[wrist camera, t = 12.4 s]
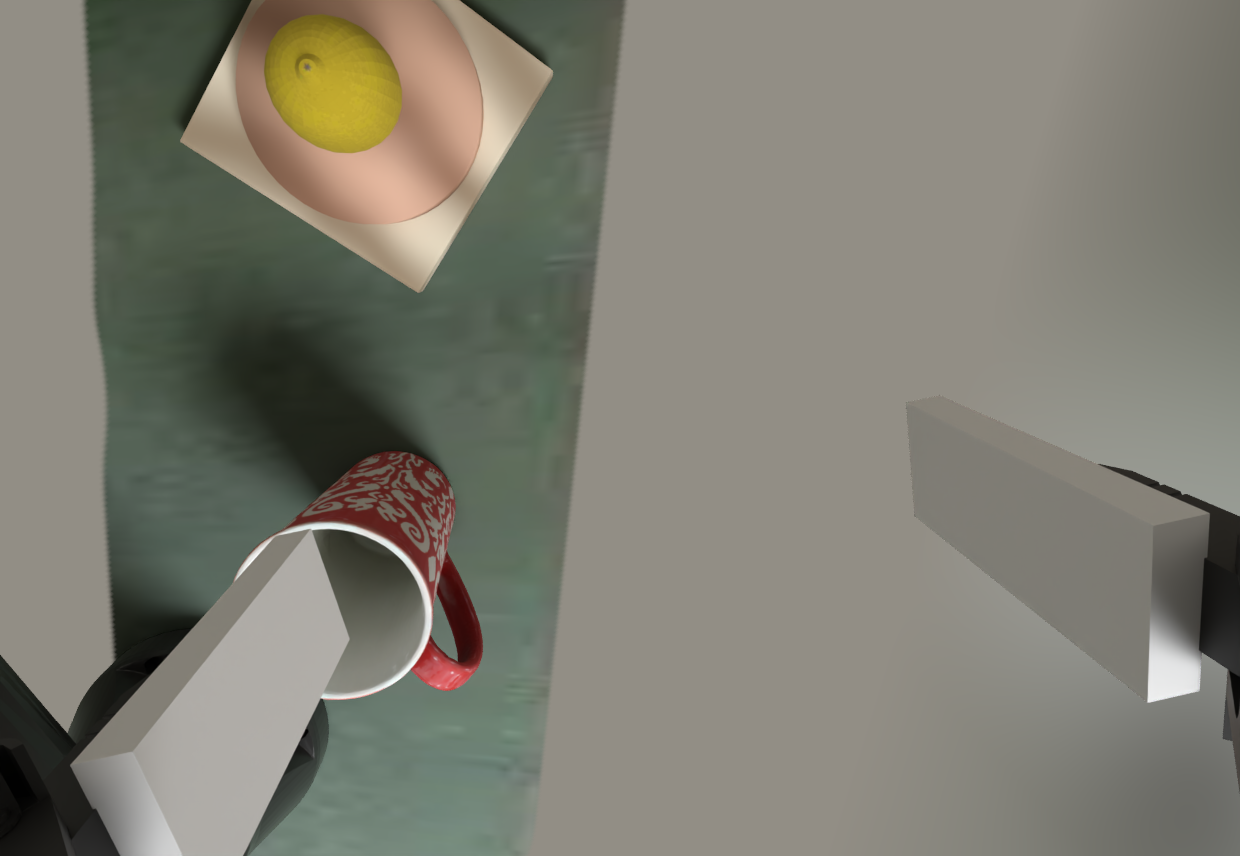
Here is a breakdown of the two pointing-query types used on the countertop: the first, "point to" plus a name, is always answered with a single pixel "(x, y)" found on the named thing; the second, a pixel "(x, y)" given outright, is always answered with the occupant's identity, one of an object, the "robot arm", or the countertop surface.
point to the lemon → (333, 83)
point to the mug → (391, 574)
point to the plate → (405, 160)
